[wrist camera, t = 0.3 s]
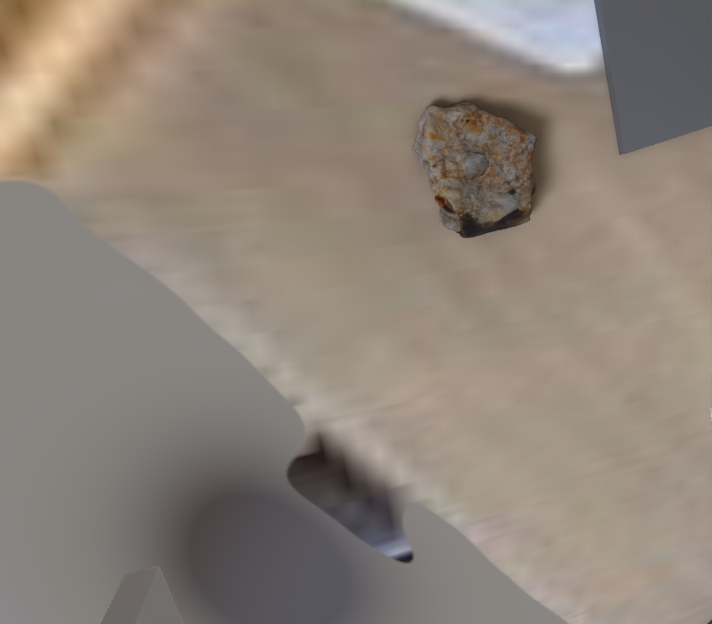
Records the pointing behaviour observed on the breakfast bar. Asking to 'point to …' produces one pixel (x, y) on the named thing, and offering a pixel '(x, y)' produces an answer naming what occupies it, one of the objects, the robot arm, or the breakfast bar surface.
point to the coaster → (657, 67)
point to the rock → (476, 168)
